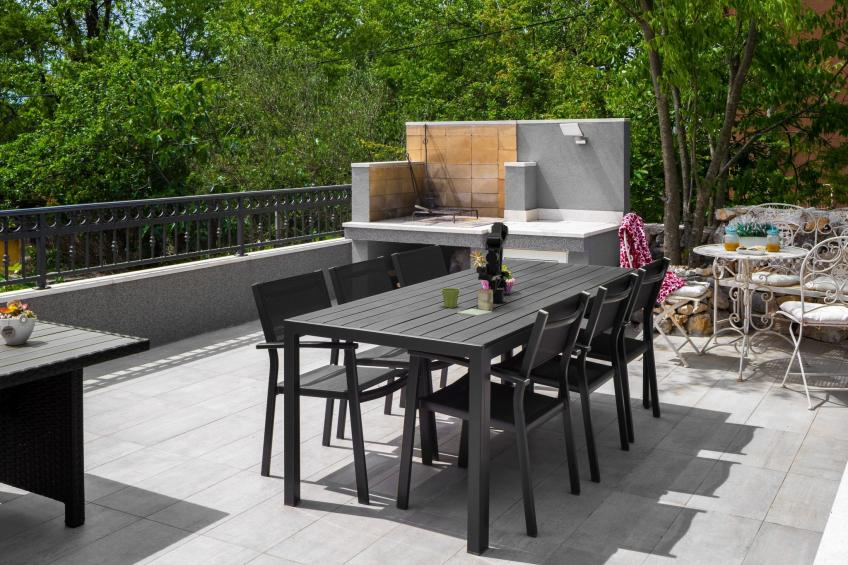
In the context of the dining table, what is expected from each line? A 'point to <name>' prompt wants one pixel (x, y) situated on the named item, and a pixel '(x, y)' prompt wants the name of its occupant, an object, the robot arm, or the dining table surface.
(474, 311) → the sage mat
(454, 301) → the plant pot
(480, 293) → the birch block
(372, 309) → the dining table surface
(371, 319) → the dining table surface
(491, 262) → the robot arm
